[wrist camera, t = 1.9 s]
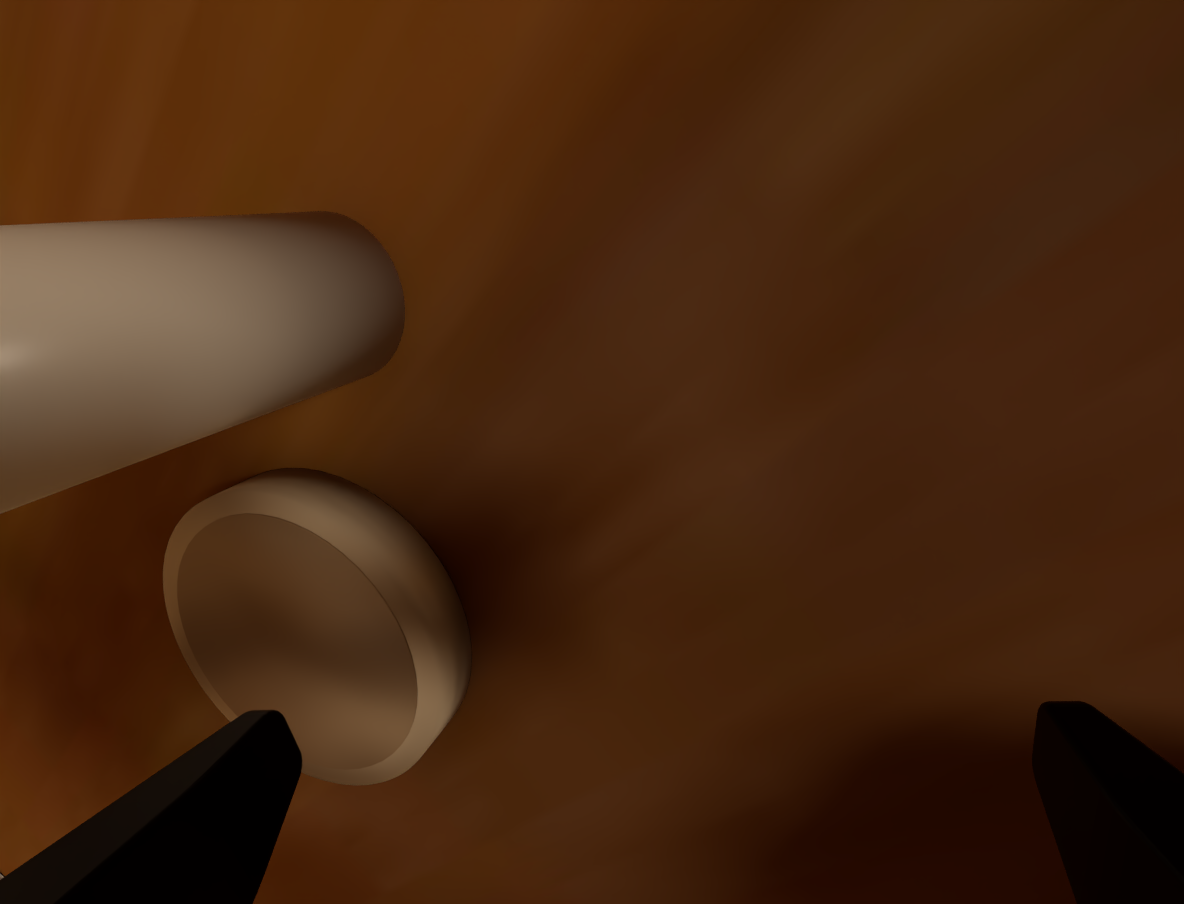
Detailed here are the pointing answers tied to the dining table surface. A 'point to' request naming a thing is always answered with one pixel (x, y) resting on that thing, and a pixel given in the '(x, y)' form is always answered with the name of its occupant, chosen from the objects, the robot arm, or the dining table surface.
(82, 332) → the candle
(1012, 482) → the dining table surface
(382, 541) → the base disc
